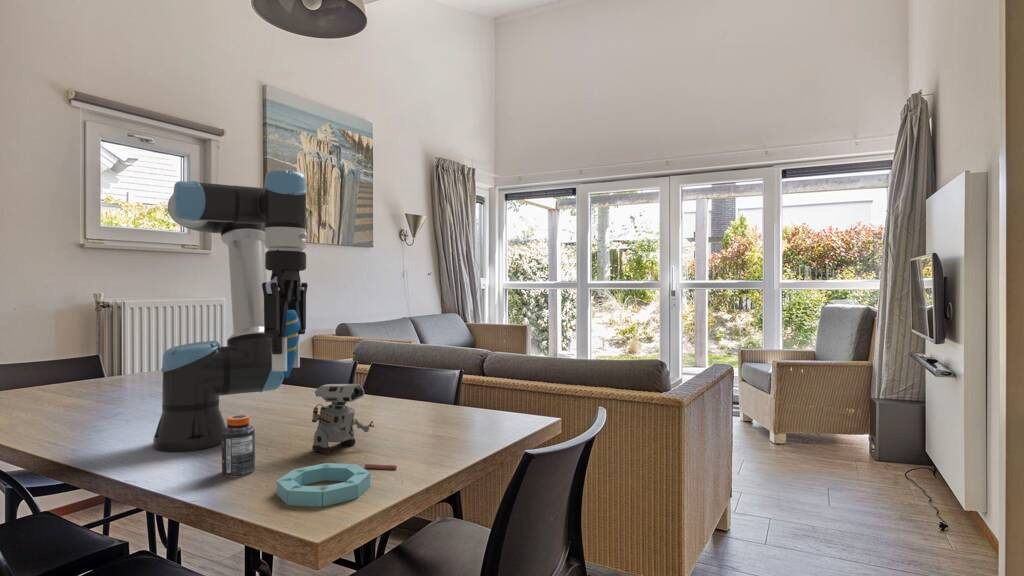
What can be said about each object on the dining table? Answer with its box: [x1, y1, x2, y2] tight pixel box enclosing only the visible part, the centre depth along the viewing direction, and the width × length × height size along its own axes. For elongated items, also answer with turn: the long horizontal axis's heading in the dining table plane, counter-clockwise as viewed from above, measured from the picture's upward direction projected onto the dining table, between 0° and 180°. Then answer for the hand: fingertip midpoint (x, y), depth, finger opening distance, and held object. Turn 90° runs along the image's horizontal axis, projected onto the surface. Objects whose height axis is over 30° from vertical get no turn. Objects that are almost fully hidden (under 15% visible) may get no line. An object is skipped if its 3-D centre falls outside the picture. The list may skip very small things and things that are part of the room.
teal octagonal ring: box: [276, 462, 371, 508], centre depth 105 cm, size 15×15×2 cm
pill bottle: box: [221, 414, 256, 478], centre depth 114 cm, size 6×6×11 cm
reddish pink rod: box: [363, 463, 398, 470], centre depth 117 cm, size 7×1×1 cm, turn 83°
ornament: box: [283, 307, 300, 378], centre depth 113 cm, size 5×5×15 cm
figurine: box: [311, 383, 375, 455], centre depth 130 cm, size 9×12×15 cm
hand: (286, 368), depth 113 cm, fingers closed on ornament, 4 cm apart
